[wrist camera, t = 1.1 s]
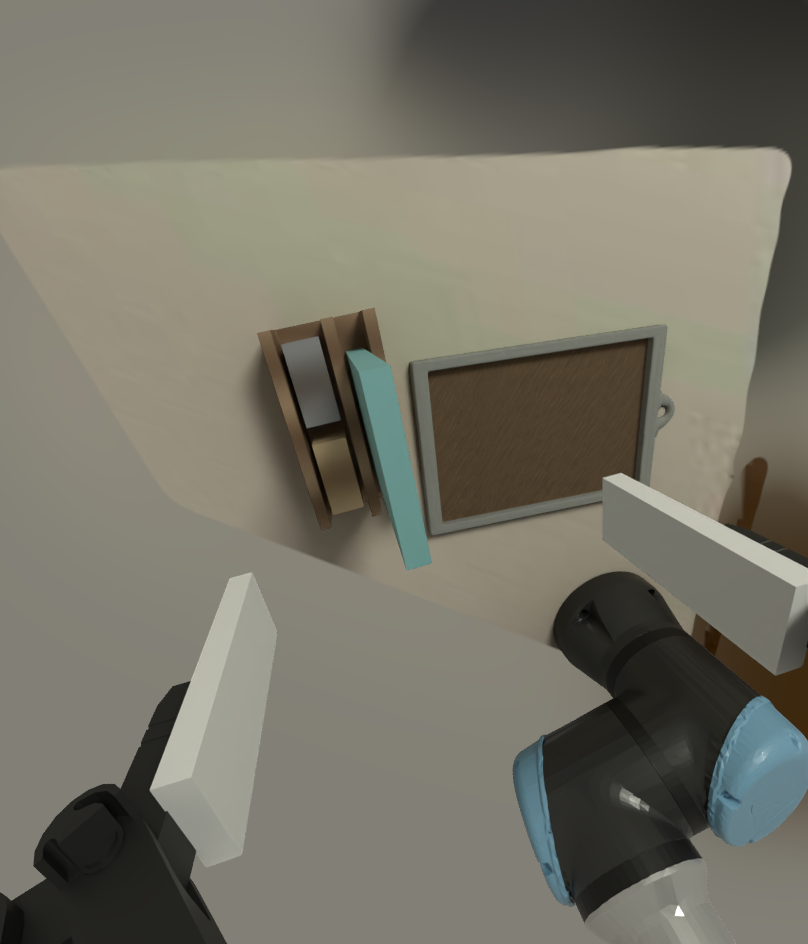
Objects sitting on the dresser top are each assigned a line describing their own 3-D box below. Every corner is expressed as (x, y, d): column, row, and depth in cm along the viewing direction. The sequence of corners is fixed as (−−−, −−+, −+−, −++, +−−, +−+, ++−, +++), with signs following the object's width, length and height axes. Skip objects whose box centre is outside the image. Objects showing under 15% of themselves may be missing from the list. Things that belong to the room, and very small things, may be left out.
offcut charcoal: (339, 411, 38) (340, 420, 34) (308, 418, 38) (306, 428, 34) (319, 335, 35) (318, 336, 32) (286, 342, 35) (281, 344, 31)
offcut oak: (361, 490, 41) (364, 506, 37) (332, 498, 41) (333, 515, 37) (344, 426, 38) (345, 437, 35) (313, 434, 38) (312, 445, 34)
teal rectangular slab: (390, 466, 41) (432, 563, 24) (375, 470, 41) (406, 570, 24) (362, 347, 36) (390, 365, 20) (345, 351, 36) (359, 372, 19)
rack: (407, 485, 43) (416, 504, 38) (322, 507, 42) (321, 530, 37) (368, 310, 36) (374, 307, 32) (266, 332, 35) (257, 333, 31)
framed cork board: (410, 362, 37) (691, 320, 41) (407, 361, 39) (678, 321, 43) (430, 536, 44) (669, 488, 48) (427, 529, 46) (658, 483, 50)
